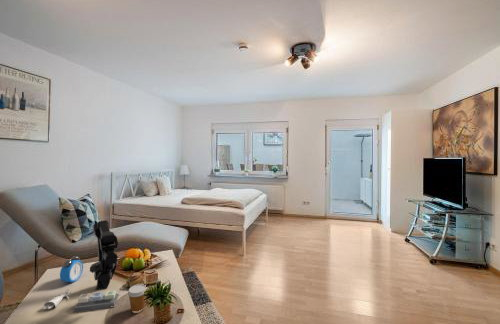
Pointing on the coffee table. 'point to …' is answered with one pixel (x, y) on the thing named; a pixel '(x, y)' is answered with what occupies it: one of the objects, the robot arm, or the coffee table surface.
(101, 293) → the key blue
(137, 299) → the disposable coffee cup
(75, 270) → the alarm clock
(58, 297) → the woman figurine
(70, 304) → the coffee table surface
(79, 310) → the keypad
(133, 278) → the pastry
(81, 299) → the key ivory
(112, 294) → the key sage
